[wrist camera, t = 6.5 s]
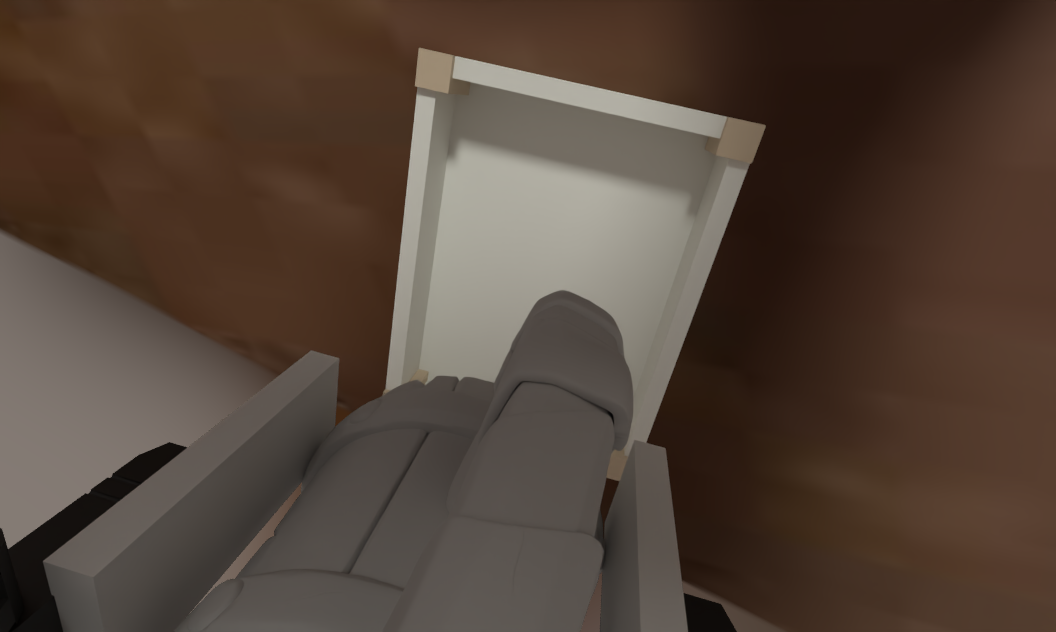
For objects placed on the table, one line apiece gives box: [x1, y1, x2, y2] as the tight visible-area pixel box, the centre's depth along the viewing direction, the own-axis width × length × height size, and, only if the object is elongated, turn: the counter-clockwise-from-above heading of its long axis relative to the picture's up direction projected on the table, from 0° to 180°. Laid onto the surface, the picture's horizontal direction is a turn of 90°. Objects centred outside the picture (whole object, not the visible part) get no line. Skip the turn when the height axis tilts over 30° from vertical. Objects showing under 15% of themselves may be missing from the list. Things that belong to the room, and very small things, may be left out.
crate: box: [383, 48, 766, 481], centre depth 25 cm, size 18×14×4 cm
